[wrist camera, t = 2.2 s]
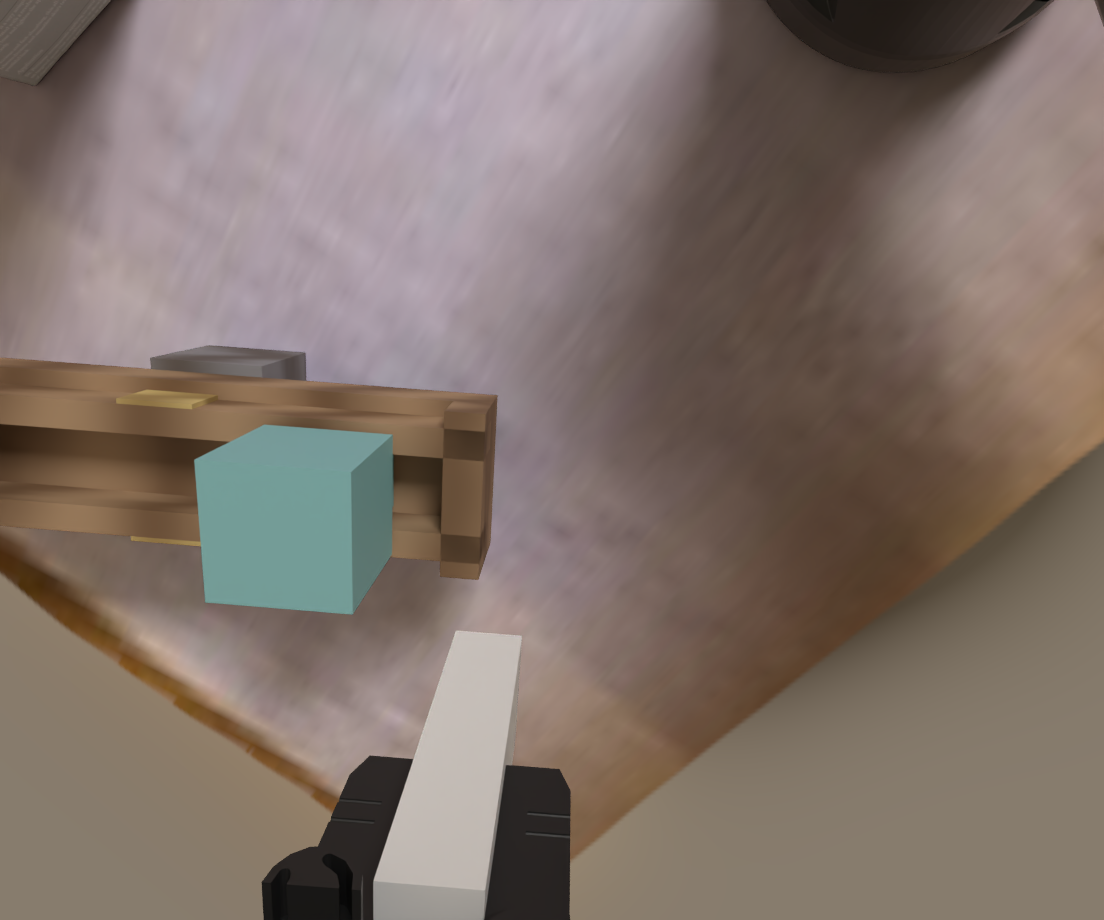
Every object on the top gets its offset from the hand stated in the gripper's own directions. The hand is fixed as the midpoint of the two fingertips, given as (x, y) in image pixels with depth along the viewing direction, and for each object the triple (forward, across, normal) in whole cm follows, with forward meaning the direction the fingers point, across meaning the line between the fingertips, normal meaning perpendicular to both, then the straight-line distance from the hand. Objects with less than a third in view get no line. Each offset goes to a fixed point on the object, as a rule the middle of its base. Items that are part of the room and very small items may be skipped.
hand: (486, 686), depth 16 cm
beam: (+21, -15, 0) cm, 26 cm away
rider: (+14, -8, 0) cm, 16 cm away
